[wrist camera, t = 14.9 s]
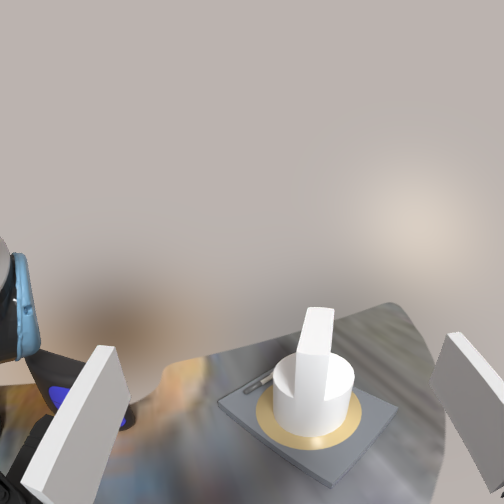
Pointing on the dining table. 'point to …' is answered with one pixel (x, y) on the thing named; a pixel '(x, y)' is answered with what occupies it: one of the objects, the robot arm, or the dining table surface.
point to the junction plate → (310, 448)
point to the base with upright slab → (312, 381)
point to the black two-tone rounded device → (61, 380)
